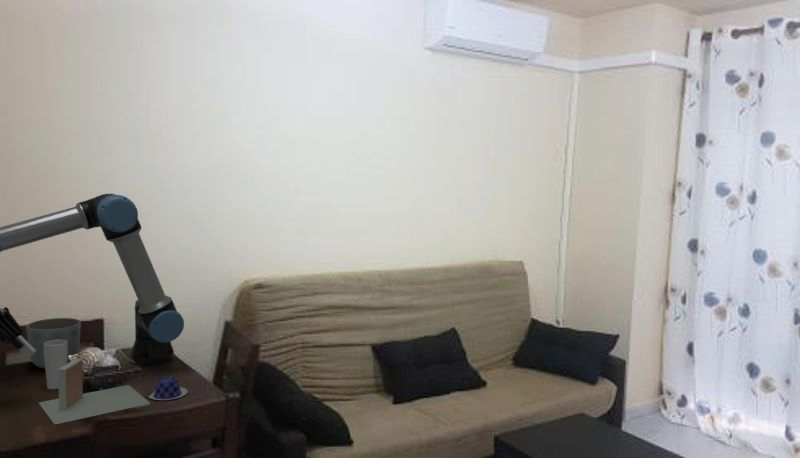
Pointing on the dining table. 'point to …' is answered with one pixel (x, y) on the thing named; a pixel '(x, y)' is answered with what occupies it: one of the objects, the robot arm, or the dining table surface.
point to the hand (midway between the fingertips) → (31, 354)
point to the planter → (53, 336)
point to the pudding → (167, 389)
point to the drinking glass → (54, 360)
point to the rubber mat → (95, 404)
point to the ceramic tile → (70, 383)
